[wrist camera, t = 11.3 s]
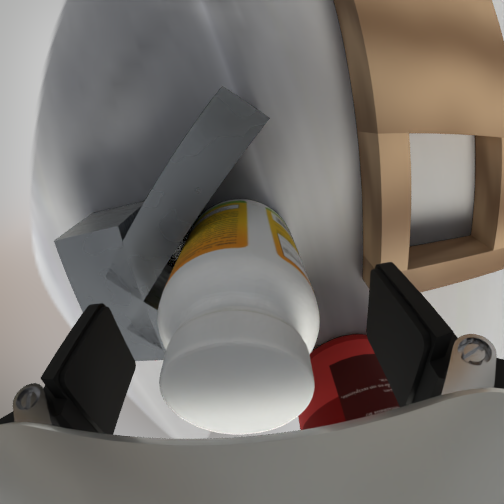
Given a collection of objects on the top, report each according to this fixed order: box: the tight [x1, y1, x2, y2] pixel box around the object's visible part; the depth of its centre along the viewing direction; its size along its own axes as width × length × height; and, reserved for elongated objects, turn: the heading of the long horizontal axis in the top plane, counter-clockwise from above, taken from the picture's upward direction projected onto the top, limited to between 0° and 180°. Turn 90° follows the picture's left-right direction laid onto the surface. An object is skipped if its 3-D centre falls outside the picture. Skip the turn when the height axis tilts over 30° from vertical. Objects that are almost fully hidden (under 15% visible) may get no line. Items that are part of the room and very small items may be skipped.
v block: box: [54, 86, 270, 361], centre depth 14 cm, size 10×16×4 cm, turn 9°
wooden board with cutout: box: [334, 0, 504, 292], centre depth 11 cm, size 20×10×2 cm, turn 9°
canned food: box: [298, 334, 400, 430], centre depth 15 cm, size 8×8×11 cm
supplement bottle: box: [157, 199, 320, 435], centre depth 11 cm, size 5×5×10 cm
